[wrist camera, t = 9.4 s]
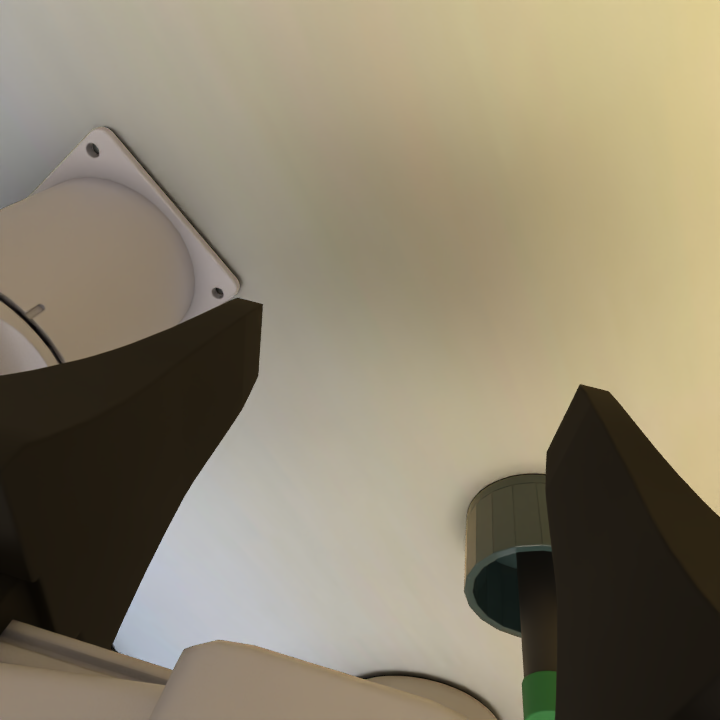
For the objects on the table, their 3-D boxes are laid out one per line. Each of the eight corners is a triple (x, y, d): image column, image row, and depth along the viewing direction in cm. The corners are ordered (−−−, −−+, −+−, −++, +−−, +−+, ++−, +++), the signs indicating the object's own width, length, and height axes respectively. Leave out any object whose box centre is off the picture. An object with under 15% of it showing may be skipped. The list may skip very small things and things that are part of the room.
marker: (525, 551, 29) (541, 745, 21) (504, 525, 28) (513, 716, 20) (566, 540, 28) (598, 739, 20) (545, 511, 27) (570, 708, 19)
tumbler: (506, 579, 31) (510, 652, 27) (441, 500, 29) (436, 570, 25) (629, 546, 28) (651, 623, 24) (568, 454, 26) (582, 526, 22)
